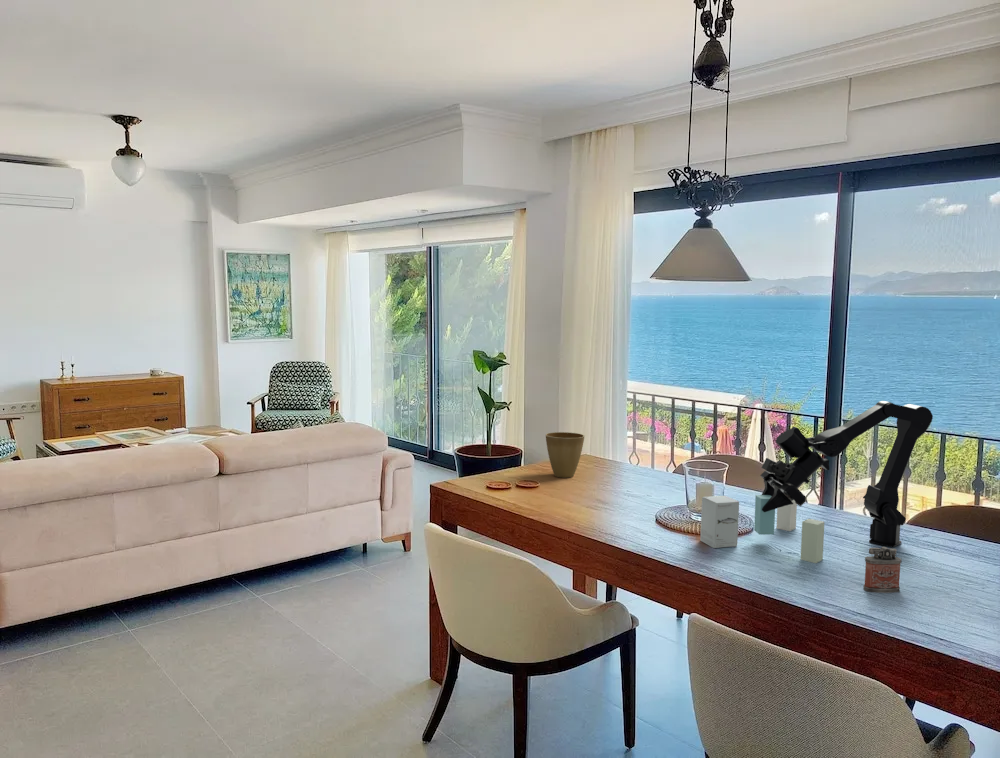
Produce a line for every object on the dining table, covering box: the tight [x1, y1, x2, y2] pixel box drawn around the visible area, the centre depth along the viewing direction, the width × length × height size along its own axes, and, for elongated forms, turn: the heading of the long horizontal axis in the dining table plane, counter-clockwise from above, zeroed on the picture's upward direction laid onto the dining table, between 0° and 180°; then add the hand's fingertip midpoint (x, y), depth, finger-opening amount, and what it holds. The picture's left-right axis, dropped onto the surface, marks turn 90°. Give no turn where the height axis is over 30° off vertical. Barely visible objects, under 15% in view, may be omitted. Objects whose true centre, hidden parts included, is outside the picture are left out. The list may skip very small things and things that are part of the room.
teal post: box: [753, 494, 776, 536], centre depth 203 cm, size 4×4×10 cm
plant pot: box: [545, 431, 585, 479], centre depth 284 cm, size 15×15×16 cm
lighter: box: [863, 546, 902, 594], centre depth 169 cm, size 8×3×10 cm, turn 92°
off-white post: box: [776, 500, 798, 532], centre depth 217 cm, size 4×4×10 cm
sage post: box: [800, 518, 825, 564], centre depth 190 cm, size 4×4×10 cm
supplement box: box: [699, 495, 740, 549], centre depth 202 cm, size 7×7×13 cm
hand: (759, 508), depth 203 cm, fingers closed on teal post, 4 cm apart
